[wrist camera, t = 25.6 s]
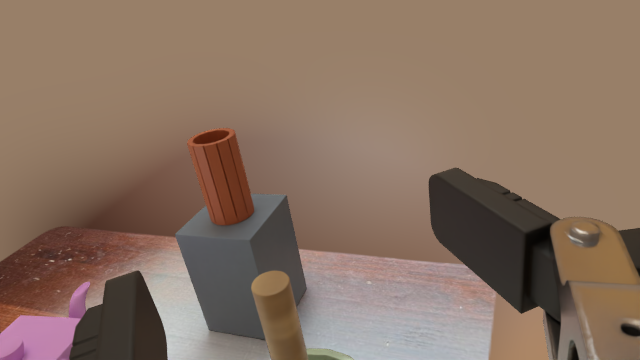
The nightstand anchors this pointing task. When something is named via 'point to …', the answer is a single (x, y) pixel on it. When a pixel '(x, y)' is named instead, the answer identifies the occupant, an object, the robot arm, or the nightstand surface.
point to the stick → (279, 316)
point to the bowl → (326, 355)
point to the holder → (235, 237)
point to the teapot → (43, 333)
